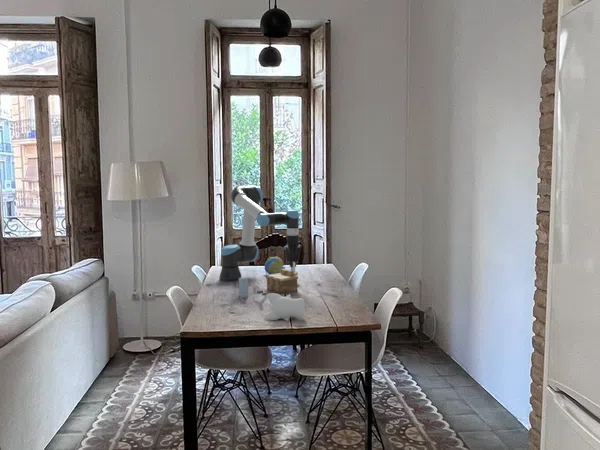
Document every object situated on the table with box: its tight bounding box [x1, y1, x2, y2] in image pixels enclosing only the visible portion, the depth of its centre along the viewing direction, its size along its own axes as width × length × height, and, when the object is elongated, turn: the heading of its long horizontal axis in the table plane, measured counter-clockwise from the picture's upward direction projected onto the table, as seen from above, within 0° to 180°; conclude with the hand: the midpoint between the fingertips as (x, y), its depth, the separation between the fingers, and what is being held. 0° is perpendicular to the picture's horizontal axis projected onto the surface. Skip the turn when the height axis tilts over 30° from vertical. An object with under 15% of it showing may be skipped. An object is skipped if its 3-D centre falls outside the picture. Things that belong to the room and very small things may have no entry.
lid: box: [265, 268, 299, 281], centre depth 332 cm, size 17×13×4 cm
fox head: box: [263, 292, 306, 322], centre depth 269 cm, size 13×17×20 cm
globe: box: [264, 255, 286, 275], centre depth 385 cm, size 14×16×15 cm
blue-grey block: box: [238, 276, 249, 298], centre depth 317 cm, size 4×4×11 cm
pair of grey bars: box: [256, 289, 270, 296], centre depth 324 cm, size 8×4×1 cm, turn 35°
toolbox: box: [266, 277, 298, 295], centre depth 332 cm, size 16×12×8 cm
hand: (293, 272), depth 336 cm, fingers closed
